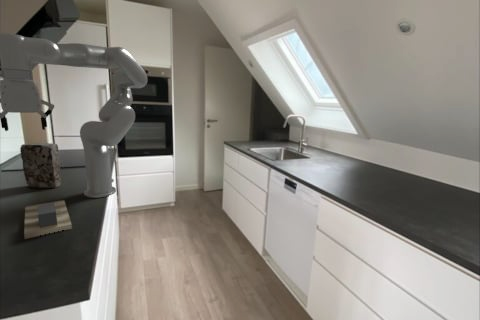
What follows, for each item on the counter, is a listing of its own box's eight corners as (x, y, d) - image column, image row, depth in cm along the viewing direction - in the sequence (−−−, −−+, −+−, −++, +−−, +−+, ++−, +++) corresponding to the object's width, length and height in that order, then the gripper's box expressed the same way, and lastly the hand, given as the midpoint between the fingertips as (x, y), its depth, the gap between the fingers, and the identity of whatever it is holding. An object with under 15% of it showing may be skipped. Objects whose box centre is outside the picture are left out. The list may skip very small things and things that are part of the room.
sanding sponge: (39, 219, 88) (37, 205, 86) (55, 216, 90) (54, 203, 89) (40, 230, 81) (37, 215, 80) (57, 226, 84) (55, 211, 83)
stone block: (63, 183, 126) (58, 142, 122) (56, 188, 120) (51, 145, 115) (32, 184, 124) (26, 142, 119) (23, 189, 117) (16, 145, 112)
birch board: (25, 210, 97) (25, 206, 97) (64, 203, 105) (64, 199, 104) (24, 239, 79) (24, 234, 79) (72, 228, 86) (71, 224, 86)
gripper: (-22, 73, 76) (-11, 132, 80) (51, 78, 87) (57, 130, 91) (-18, 74, 82) (-9, 129, 86) (50, 78, 92) (56, 127, 96)
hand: (25, 129), depth 88 cm, fingers open, 9 cm apart
